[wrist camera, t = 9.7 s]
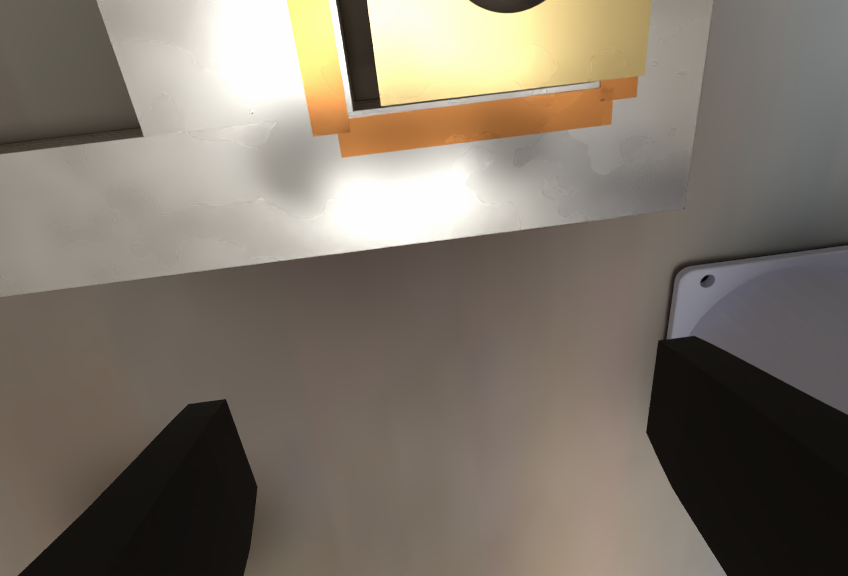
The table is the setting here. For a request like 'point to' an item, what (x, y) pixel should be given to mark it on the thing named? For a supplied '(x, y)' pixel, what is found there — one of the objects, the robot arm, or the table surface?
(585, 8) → the brass nut
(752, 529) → the robot arm
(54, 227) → the panel
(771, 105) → the table surface
